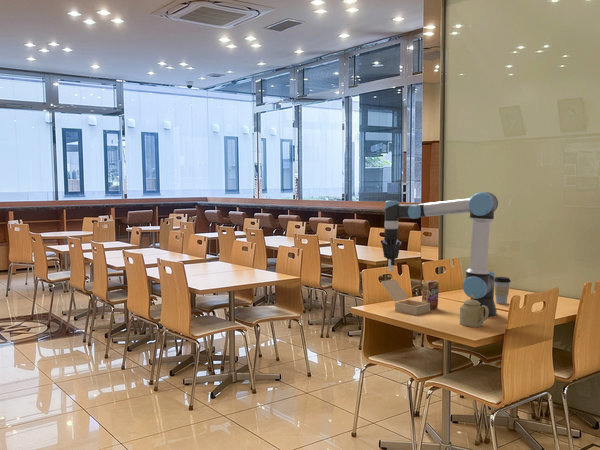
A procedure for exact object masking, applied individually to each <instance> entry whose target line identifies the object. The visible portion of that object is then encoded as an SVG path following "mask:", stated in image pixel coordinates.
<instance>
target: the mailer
mask: <svg viewBox="0 0 600 450" xmlns="http://www.w3.org/2000/svg"><path fill="white" fill-rule="evenodd" d="M398 311H399V312H398ZM394 312H398V313H404V314H409V315H413V314H414V316H418V315H423V314H427V313H431V309H430V303H425V302H422V301H419V300H412V299H405V300H400V301H395V303H394Z"/></svg>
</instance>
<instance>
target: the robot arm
mask: <svg viewBox="0 0 600 450" xmlns="http://www.w3.org/2000/svg"><path fill="white" fill-rule="evenodd" d="M498 207H499V201H498V198H497V195H495V194H493V193H491V192H489V191H488V192H487V191H479V192H476V193H475V194H473V195H471V196H470V197H468V198H458V199H451V200H443V201H435V202H434V201H433V202H424V203H417V204H416V203H413V204H411V203H410V204H405V203H404V204H402V203H399V201H398V200H386V201H385V203H384V237H383V239H382V240H380V244H381V247H382V251H383V257H384V258H385V259H387V260H386V261H387V263H386V264H387V265H388V267H387V271H388V272H394V266H395V259H398V258H399V253H400V249H401V245H402V244H403V241H400V240H399V219H413V220H414V219H419V218H426V217H433V216H434V217H436V216H445V215H455V214H456V215H457V214H467V213H469V219H470V220H471V225H472V226H471V236H470V237H471V241H470V253H469V254H470V255H469V267H468V268H467V269H466V271H465V280H464V281H463V283H462V290H463V292H464V294H465V295H466V296H467V297H468V298H470V296H471V295H472V294H473V295H474V300H476V301H478V302H479V303H481V304H480V306H483V305H485V306H487V307H488V309H489V315H488V317H493V316H496V315H497V308H496V302H495V301H494V299H495V298H494V296H495V281H494V279H495V277H496V275H495V272H494V271H491V270H490V271H489V270H488V256H489V245H490V244H489V243H490V241H489V240H490V232H491V231H490V230H491V222H492V221H494V220H495V219H494V218H495V211H496V210H497V208H498ZM483 309H484V310H483V317H485V308H483Z"/></svg>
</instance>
